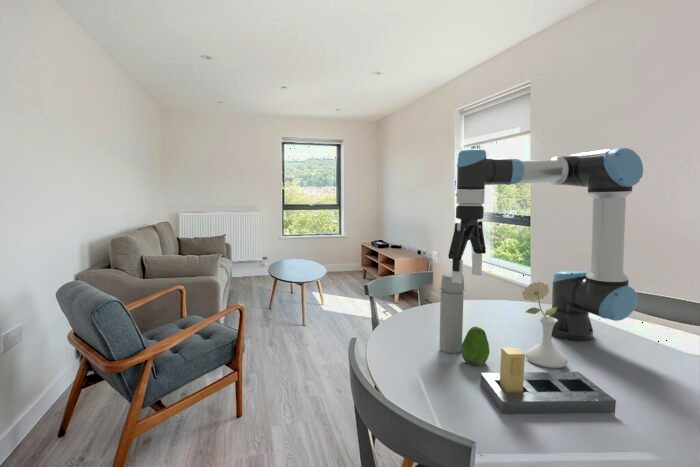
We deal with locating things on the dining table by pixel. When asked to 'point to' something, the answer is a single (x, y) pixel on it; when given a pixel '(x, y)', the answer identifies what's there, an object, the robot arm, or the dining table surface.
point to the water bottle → (451, 314)
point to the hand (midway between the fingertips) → (467, 278)
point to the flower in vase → (544, 351)
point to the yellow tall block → (512, 369)
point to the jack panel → (549, 394)
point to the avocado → (475, 347)
